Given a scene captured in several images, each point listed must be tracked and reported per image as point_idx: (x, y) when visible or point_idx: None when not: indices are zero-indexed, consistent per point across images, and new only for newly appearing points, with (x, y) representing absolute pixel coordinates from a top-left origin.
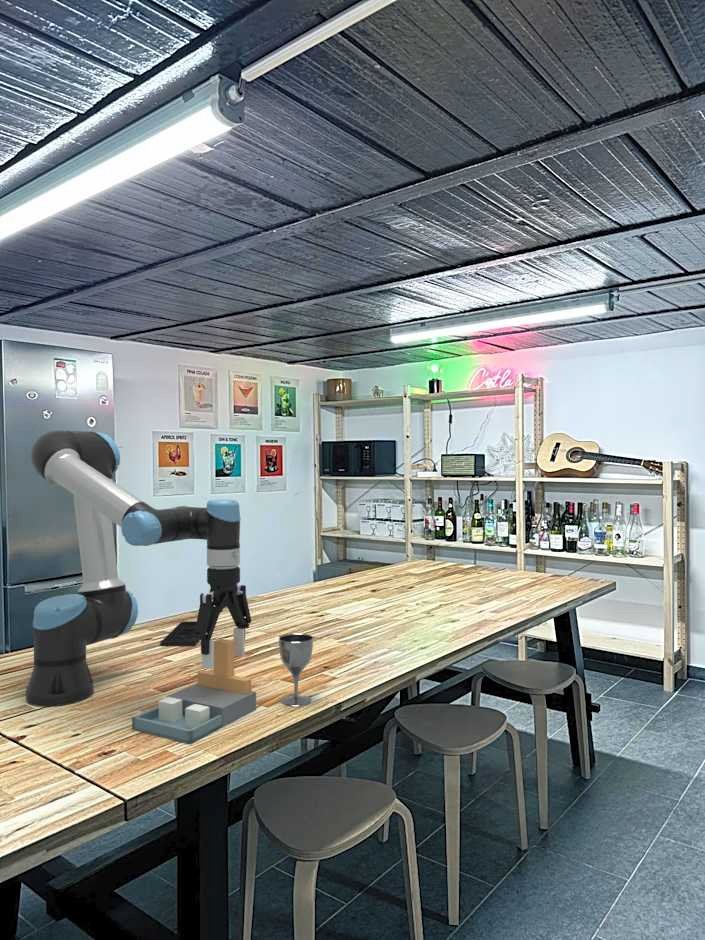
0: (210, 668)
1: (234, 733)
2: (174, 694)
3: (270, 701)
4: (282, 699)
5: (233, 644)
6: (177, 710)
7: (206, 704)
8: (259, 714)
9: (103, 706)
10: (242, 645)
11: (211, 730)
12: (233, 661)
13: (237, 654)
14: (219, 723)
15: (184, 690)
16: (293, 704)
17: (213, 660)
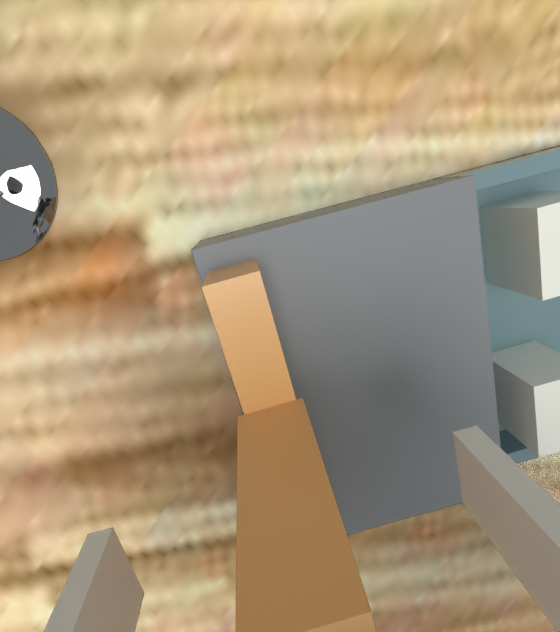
0: (480, 436)
1: (448, 76)
2: None
3: (85, 274)
4: (24, 246)
5: (250, 603)
6: (536, 362)
7: (483, 281)
8: (227, 177)
9: (530, 613)
10: (77, 619)
11: (506, 160)
12: (246, 472)
13: (128, 574)
14: (461, 173)
15: (415, 499)
16: (21, 141)
17: (492, 470)
